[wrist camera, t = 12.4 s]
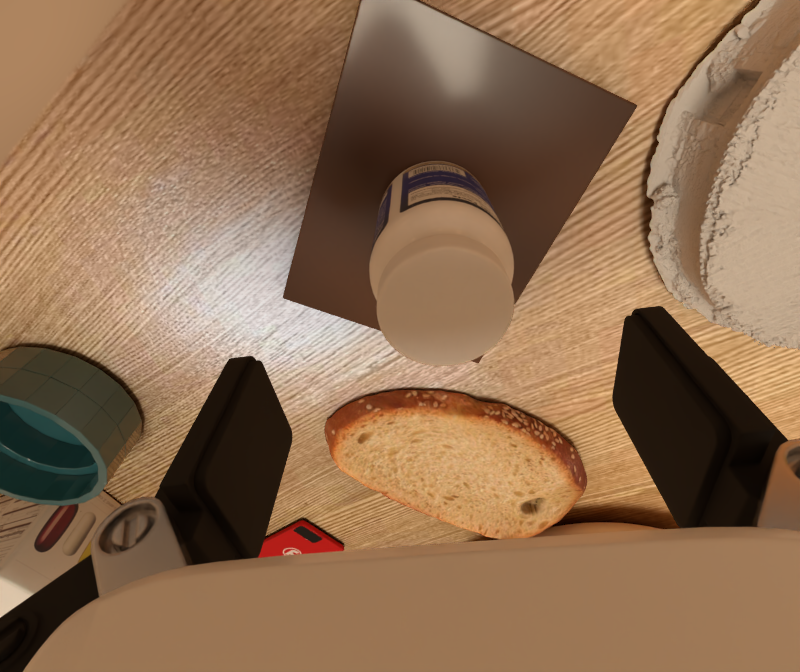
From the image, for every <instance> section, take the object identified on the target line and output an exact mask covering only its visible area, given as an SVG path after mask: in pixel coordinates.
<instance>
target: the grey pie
mask: <svg viewBox="0 0 800 672" xmlns="http://www.w3.org/2000/svg"><path fill="white" fill-rule="evenodd" d="M659 130H660V133H659V134H658V136H657V140H658V142H659V145H658V146H657V148H656V153H655V154H654V155H653V158H652V160H651V163H650V167H651V173H650V175H649V177H648V180H647V185H648V189H647V196H648V198H652V199H653V200H654V206H652V207H651V211H652V220H651V221H650V224H649V226H650V228H651V230H652V231H651V232H650V234H649V236H648V240H649V241H650V244H651V247H650V250H651V252H652V253H653V256H654V259H653V260H654V263H655V265H656V267H657V269H658V272H659V273H660V275H661V278H662V279H663V281H664V284H665V285H666V288H667V291H669V292H671V293H673V296H674V298H675V299H677V300H678V301H680V302H683V303H684V304H683V306H685V307H687V309H693V308H695V309H697V311H698V312H700V313H701V314H702V315H703V316H705V317H706V318H707V319H708V321H709V322H711V323H716V324H718V325H720V326H722V327H728V328H729V327H731V329H732V330H733V331H736V332H743V333H744V335H746V334H747V335H748V336H751V337H752V340H753V339H756V341H760V342H761V343H762V344H763V343H764V344H765V345H766V346H767V347H770V346H772V345H774V344H775V345H776V346H781V347H785V346H786V347H787V348H795V349H796V348H797V349H798V350H799V349H800V0H761V1H760V2H759V4H758V5H757V6H756V7H755V8H754V9H753V10H751V11H750V12H748V13H746V15H745V16H744V17H743V19H742V20H741V24H739V25H737V26H736V27H734V28H733V29H732V30H730V31H729V32H728V33H727V35H726V36H725V37H724V38H723V40H722V41H720V42H719V44H718V45H717V47H716V48H715V49H714V50H713V51H712V52H711V53H710V54H709V55H708V56H707V57H706V58H705V59H704V60H703V61H702V62H701V63H700V64H699V65H698V66H697V68H696V69H695V71H694V72H693V73H692V75H691V77H690V78H689V79H688V80H687V81H686V84H685V86H684V87H681V89H680V90H679V92H678V95H677V97H676V98H674V99H673V100H672V101H671V102H670V104H669V106H668V108H667V111H666V115H665V117H664V118H663V124H662V125H661V126H660V129H659ZM756 341H754V342H756ZM760 342H759V343H760ZM758 345H760V344H758ZM774 348H775V347H774Z"/></svg>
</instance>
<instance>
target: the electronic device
mask: <svg viewBox="0 0 800 672" xmlns="http://www.w3.org/2000/svg"><path fill="white" fill-rule="evenodd" d="M336 551H344V546H343V545H342V544H341V543H339V542H337V541H336V540H334V539H333V538H331V537H330V536H328V535H327V534H325V533H324V532H322V531H320V530H319V529H317V528H316V527H314V526H313V525H311V524H310V523H308V522H307V521H305V520H300V521H298V522H296V523H294V524H293V525H291V526H289V527H287V528H285V529H283V530H281V531H279V532H277V533H275V534H273V535H271V536H269V537H267V538H266V539H264V542H263V546H262V549H261V552H260V555H259V557H258V558H262V557H273V556H284V555H297V554H310V553H323V552H336Z"/></svg>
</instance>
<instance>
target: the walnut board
mask: <svg viewBox="0 0 800 672" xmlns="http://www.w3.org/2000/svg"><path fill="white" fill-rule="evenodd" d="M636 107H637V105H636V104H634V103H632V102H630V101H628V100H626V99H624V98H621V97H619V96H617V95H615V94H613V93H611V92H609V91H607V90H605V89H603V88H601V87H599V86H597V85H594V84H592V83H590V82H588V81H586V80H584V79H582V78H580V77H578V76H576V75H574V74H572V73H570V72H567V71H565V70H563V69H561V68H559V67H557V66H555V65H553V64H551V63H549V62H547V61H545V60H543V59H540V58H538V57H536V56H534V55H532V54H530V53H528V52H526V51H524V50H522V49H520V48H518V47H516V46H513V45H511V44H509V43H507V42H505V41H503V40H501V39H499V38H497V37H495V36H493V35H491V34H489V33H487V32H484V31H482V30H480V29H478V28H476V27H474V26H472V25H470V24H468V23H466V22H464V21H462V20H460V19H457V18H455V17H453V16H451V15H449V14H447V13H445V12H443V11H441V10H439V9H437V8H435V7H433V6H430V5H428V4H426V3H424V2H422V1H420V0H360V2H359V6H358V10H357V14H356V18H355V22H354V25H353V29H352V33H351V37H350V41H349V45H348V49H347V52H346V56H345V60H344V64H343V68H342V72H341V75H340V79H339V83H338V87H337V91H336V95H335V98H334V102H333V106H332V110H331V114H330V118H329V122H328V125H327V129H326V133H325V137H324V141H323V145H322V148H321V152H320V156H319V160H318V164H317V168H316V171H315V175H314V179H313V183H312V187H311V191H310V194H309V198H308V202H307V206H306V210H305V214H304V218H303V221H302V225H301V229H300V233H299V237H298V241H297V244H296V248H295V252H294V256H293V260H292V264H291V267H290V271H289V275H288V279H287V283H286V287H285V291H284V294H283V298H284V299H287V300H290V301H293V302H296V303H299V304H302V305H305V306H308V307H311V308H314V309H317V310H320V311H323V312H326V313H329V314H332V315H335V316H338V317H341V318H344V319H347V320H350V321H353V322H356V323H359V324H362V325H365V326H368V327H371V328H374V329H377V330H380V331H381V329H380V326H379V322H378V318H377V300H376V298H375V296H374V294H373V290H372V287H371V282H370V272H369V263H370V256H371V251H372V245H373V240H374V235H375V229H376V224H377V218H378V212H379V208H380V204H381V201H382V198H383V196H384V193H385V191H386V190H387V188H388V187H389V185H390V184H391V182H392V181H393V180H394V179H395V178H396V177H397V176H398V175H399V174H400V173H402V172H403V171H405V170H406V169H408V168H410V167H412V166H414V165H416V164H419V163H423V162H428V161H445V162H450V163H453V164H456V165H458V166H460V167H462V168H464V169H466V170H467V171H468V172H470V173H471V174H472V175H473V176H474V177H475V178H476V179H477V180H478V181H479V182H480V184H481V185H482V187H483V188H484V190H485V192H486V194H487V196H488V198H489V200H490V202H491V205H492V207H493V209H494V211H495V213H496V215H497V217H498V219H499V221H500V223H501V225H502V227H503V229H504V231H505V233H506V235H507V238H508V240H509V243H510V245H511V249H512V253H513V259H514V274H513V279H512V284H511V286H512V289H513V294H514V305H515V303H516V302H517V300H518V298H519V297H520V295H521V294H522V292H523V290H524V289H525V287H526V285H527V284H528V282H529V281H530V279H531V277H532V276H533V274H534V272H535V271H536V269H537V268H538V266H539V264H540V263H541V261H542V260H543V258H544V256H545V255H546V253H547V251H548V250H549V248H550V247H551V245H552V243H553V242H554V240H555V238H556V237H557V235H558V234H559V232H560V230H561V229H562V227H563V226H564V224H565V222H566V221H567V219H568V217H569V216H570V214H571V213H572V211H573V209H574V208H575V206H576V204H577V203H578V201H579V200H580V198H581V196H582V195H583V193H584V192H585V190H586V188H587V187H588V185H589V183H590V182H591V180H592V179H593V177H594V175H595V174H596V172H597V170H598V169H599V167H600V166H601V164H602V162H603V161H604V159H605V158H606V156H607V154H608V153H609V151H610V149H611V148H612V146H613V145H614V143H615V141H616V140H617V138H618V136H619V135H620V133H621V132H622V130H623V128H624V127H625V125H626V124H627V122H628V120H629V119H630V117H631V115H632V114H633V112H634V111H635V109H636ZM482 357H483V355H482V356H480V357H478V358H476V359H474V360H472V361H473V362H476V363H479V362H480V360H481V358H482Z"/></svg>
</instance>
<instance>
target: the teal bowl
mask: <svg viewBox="0 0 800 672" xmlns="http://www.w3.org/2000/svg"><path fill="white" fill-rule="evenodd" d="M141 426H142V420H141V417H140V414H139V412H138V409H137V407H136V404H135V402H134V401H133V400H132V399H131V397H130V396H129V395H128V394H127V392H126V391H125V390H124V389H123V388H122V386H120V384H118V383H117V382H116V381H115V380H113V379H112V378H111V377H109V376H108V375H107V374H106V373H104V372H103V371H102V370H100V369H99V368H97V367H95V366H93V365H91V364H89V363H87V362H85V361H83V360H81V359H79V358H77V357H75V356H72V355H69V354H65V353H62V352H58V351H55V350H51V349H48V348H35V347H16V348H11V349H7V350H3V351H0V493H1V494H3V495H6V496H9V497H11V498H15V499H18V500H23V501H27V502H32V503H36V504H41V505H56V506H67V505H73V504H80V503H85V502H87V501H89V500H91V499H93V498H95V497H97V496H98V495H100V494H101V492H102V491H103V489H104V488H105V486H106V485H107V484H108V482H109V481H110V479H111V478H112V476H113V475H114V473H115V472H116V471H117V469H118V468H119V466H120V465H121V463H122V462H123V461H124V459H125V458H126V456H127V455H128V453H129V452H130V451H131V449H132V448H133V446H134V445H135V443H136V442H137V440H138V439H139V437H140V436H141Z"/></svg>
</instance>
